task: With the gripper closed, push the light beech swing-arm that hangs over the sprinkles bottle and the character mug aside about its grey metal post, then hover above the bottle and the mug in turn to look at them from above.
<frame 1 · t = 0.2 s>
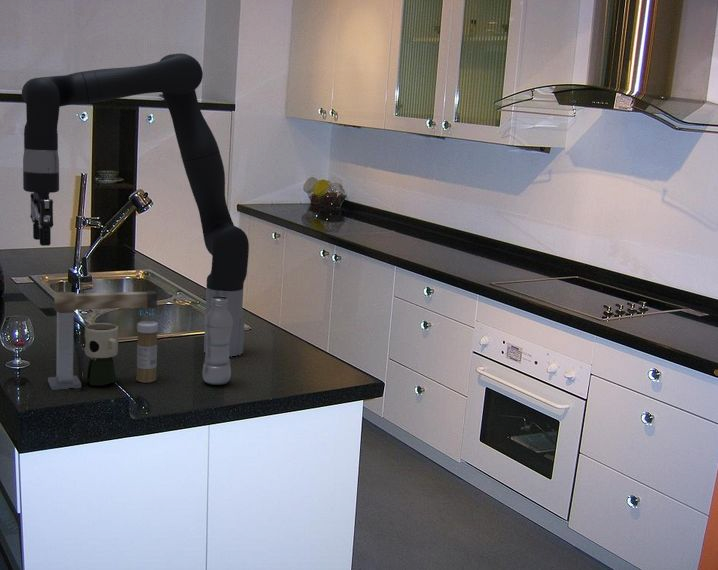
hand: (41, 242, 195), 29 cm above the countertop, tool pointing down, fingers open, 8 cm apart
post: (64, 384, 189), on the countertop
sprinkles bottle: (146, 381, 196), on the countertop
swing arm: (106, 300, 189), point 19 cm above the countertop, hinge at 0.0°
plastic bottle: (216, 384, 197), on the countertop
character mug: (100, 384, 191), on the countertop
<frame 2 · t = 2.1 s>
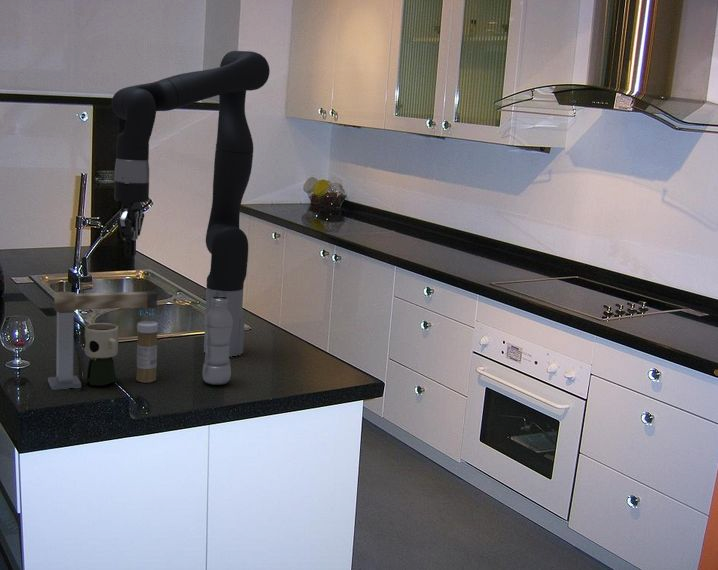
hand: (129, 256, 197), 27 cm above the countertop, tool pointing down, fingers closed
nothing on the countertop moved.
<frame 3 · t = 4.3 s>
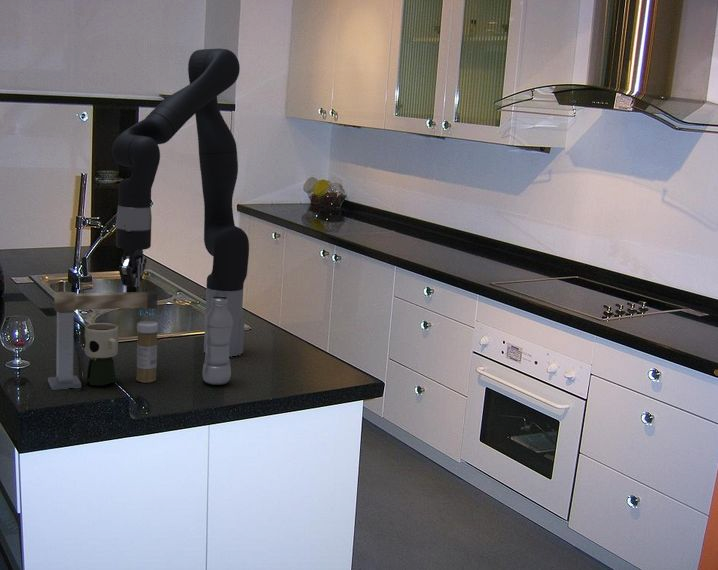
hand: (131, 302, 195), 17 cm above the countertop, tool pointing down, fingers closed
swing arm: (106, 300, 189), point 19 cm above the countertop, hinge at 0.8°, touching gripper
everything else where it was.
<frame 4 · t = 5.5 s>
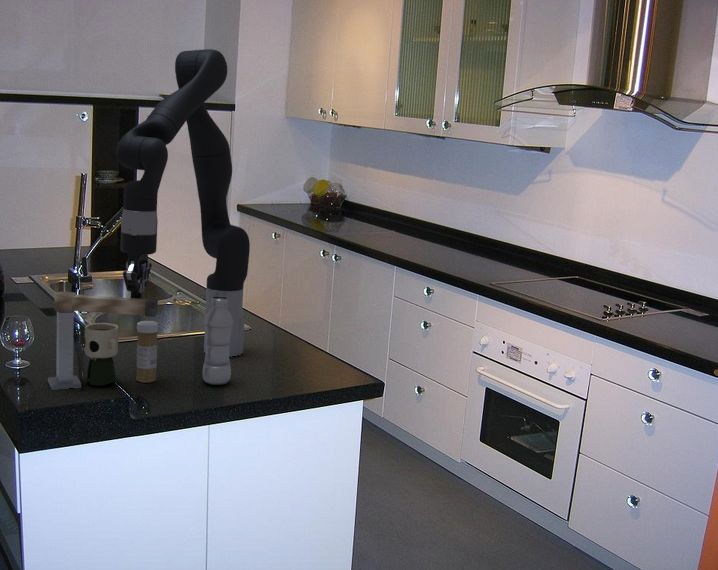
hand: (136, 308, 189), 17 cm above the countertop, tool pointing down, fingers closed
swing arm: (105, 304, 185), point 19 cm above the countertop, hinge at 25.9°, touching gripper
everything else where it was.
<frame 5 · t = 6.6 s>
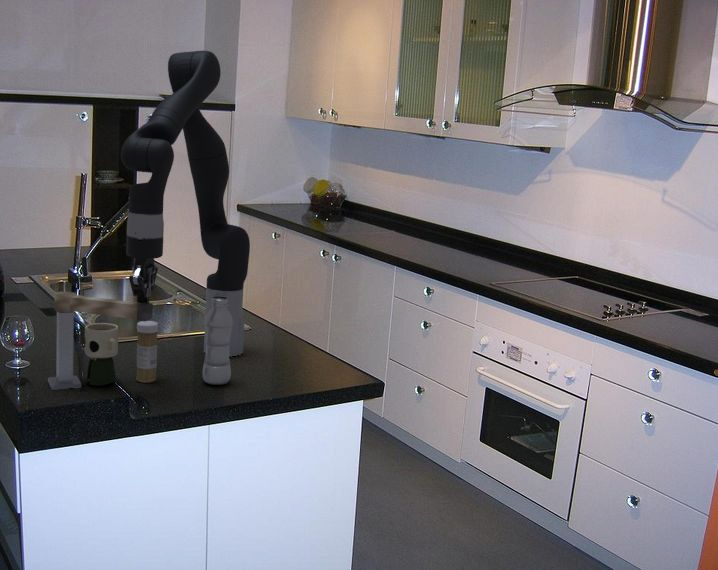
hand: (142, 313, 186), 17 cm above the countertop, tool pointing down, fingers closed
swing arm: (102, 306, 184), point 19 cm above the countertop, hinge at 39.1°, touching gripper
everything else where it was.
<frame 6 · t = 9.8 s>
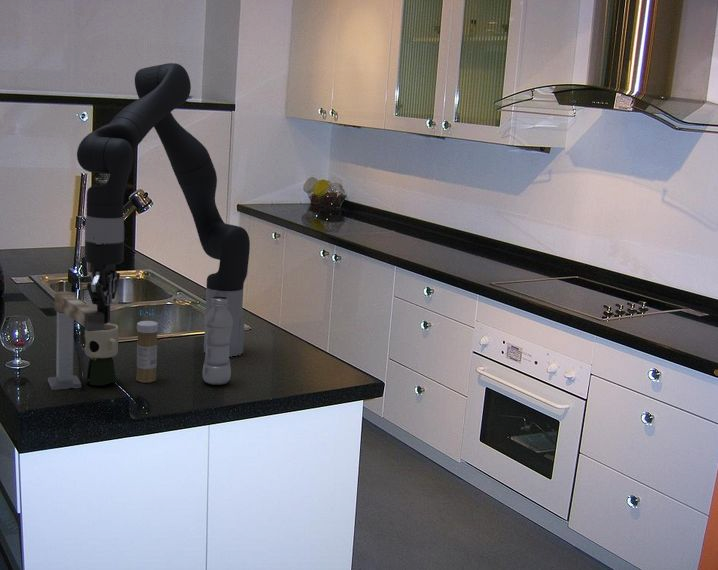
hand: (103, 322, 176), 17 cm above the countertop, tool pointing down, fingers closed
swing arm: (78, 310, 178), point 19 cm above the countertop, hinge at 81.5°, touching gripper
everything else where it was.
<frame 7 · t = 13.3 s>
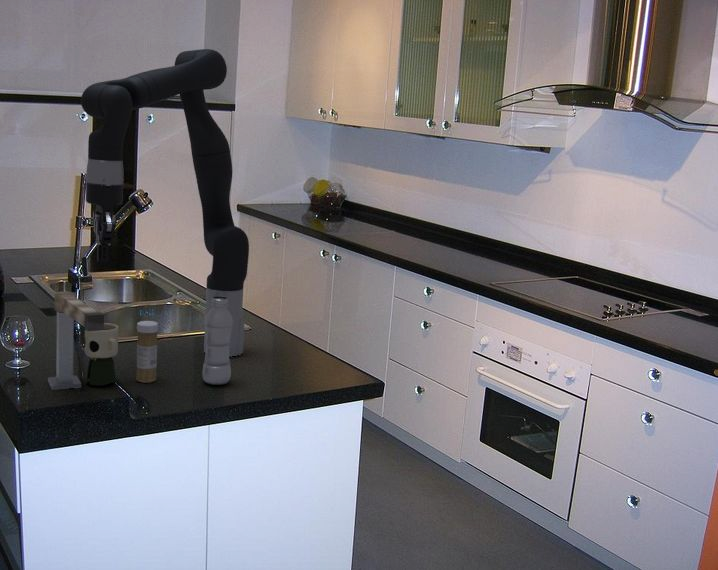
hand: (102, 262, 186), 27 cm above the countertop, tool pointing down, fingers closed
swing arm: (78, 310, 178), point 19 cm above the countertop, hinge at 81.6°
everything else where it was.
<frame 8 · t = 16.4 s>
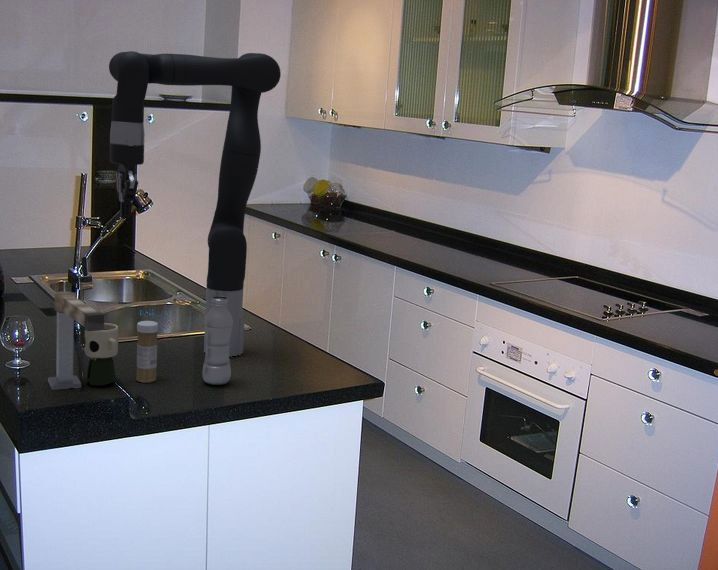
hand: (125, 218, 199), 35 cm above the countertop, tool pointing down, fingers closed
nothing on the countertop moved.
at the end: swing arm at +82° (first picture: +0°); sprinkles bottle moved 0.2 cm from its start; character mug moved 0.2 cm from its start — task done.
